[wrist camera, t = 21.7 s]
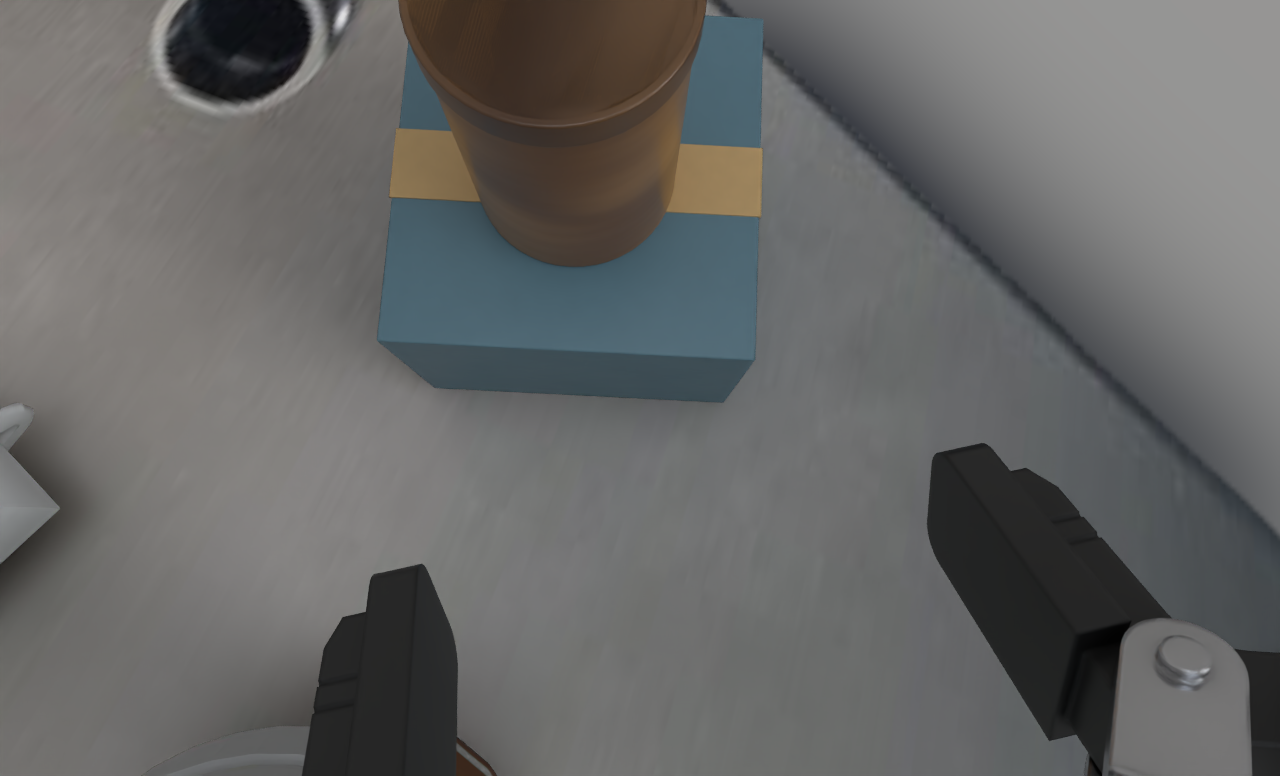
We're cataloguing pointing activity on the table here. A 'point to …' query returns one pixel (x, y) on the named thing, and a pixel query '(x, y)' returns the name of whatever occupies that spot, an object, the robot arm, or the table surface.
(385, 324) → the cardboard box
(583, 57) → the brown lidded canister
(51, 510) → the stamp
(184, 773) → the food container
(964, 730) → the table surface
